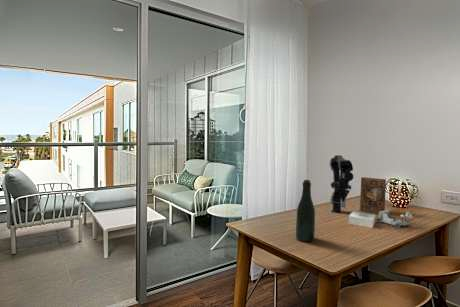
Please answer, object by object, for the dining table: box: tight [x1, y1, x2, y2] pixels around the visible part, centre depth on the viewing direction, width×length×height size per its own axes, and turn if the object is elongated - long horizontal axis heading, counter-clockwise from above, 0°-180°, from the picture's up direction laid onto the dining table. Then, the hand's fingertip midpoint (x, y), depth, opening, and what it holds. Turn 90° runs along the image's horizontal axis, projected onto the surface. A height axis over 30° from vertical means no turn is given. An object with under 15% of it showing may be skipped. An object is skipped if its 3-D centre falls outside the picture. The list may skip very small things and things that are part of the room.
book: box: [359, 177, 387, 214], centre depth 211 cm, size 16×6×25 cm, turn 58°
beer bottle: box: [294, 179, 316, 243], centre depth 155 cm, size 10×10×33 cm
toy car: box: [375, 209, 413, 229], centre depth 184 cm, size 18×10×12 cm
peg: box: [341, 197, 347, 208], centre depth 193 cm, size 3×3×10 cm
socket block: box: [348, 210, 376, 229], centre depth 185 cm, size 14×14×5 cm
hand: (343, 201), depth 193 cm, fingers closed on peg, 3 cm apart
